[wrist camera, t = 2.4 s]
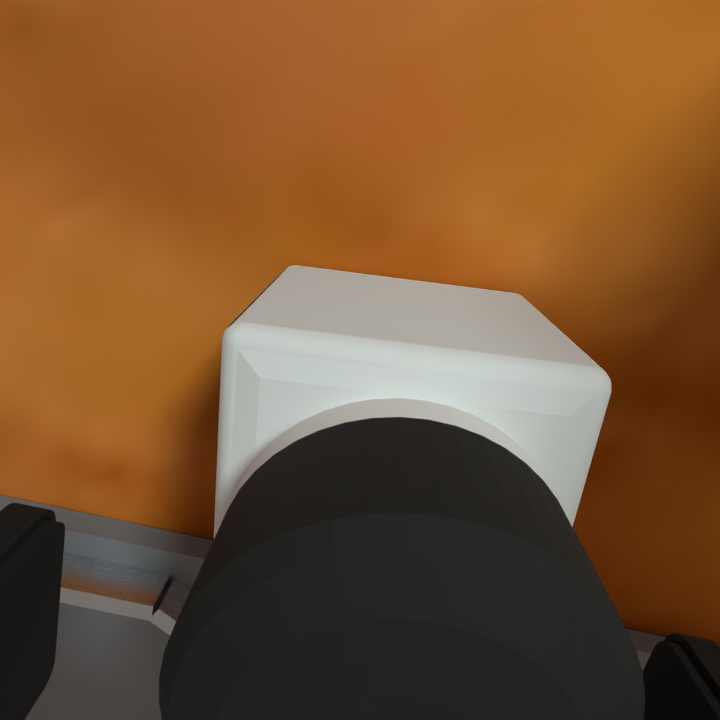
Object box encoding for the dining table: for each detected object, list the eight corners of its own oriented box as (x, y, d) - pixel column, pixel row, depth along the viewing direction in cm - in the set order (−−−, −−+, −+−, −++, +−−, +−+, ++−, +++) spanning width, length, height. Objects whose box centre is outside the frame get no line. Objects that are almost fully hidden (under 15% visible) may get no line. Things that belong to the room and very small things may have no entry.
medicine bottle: (284, 261, 17) (69, 463, 5) (525, 292, 17) (839, 561, 5) (268, 473, 19) (94, 936, 7) (479, 500, 19) (627, 1001, 7)
